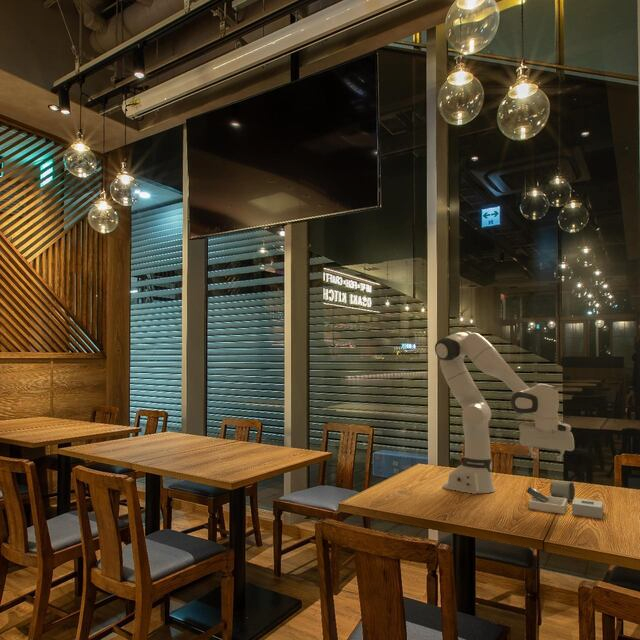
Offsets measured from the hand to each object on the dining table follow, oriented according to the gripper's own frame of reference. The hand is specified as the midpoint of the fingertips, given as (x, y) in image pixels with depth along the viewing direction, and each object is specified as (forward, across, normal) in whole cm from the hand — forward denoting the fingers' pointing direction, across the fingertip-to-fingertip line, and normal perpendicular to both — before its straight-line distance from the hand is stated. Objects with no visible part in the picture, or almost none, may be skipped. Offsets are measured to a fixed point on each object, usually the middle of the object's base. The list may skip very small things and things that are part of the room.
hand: (546, 459), depth 207 cm
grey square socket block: (+18, +15, 0) cm, 24 cm away
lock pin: (+17, 0, 0) cm, 17 cm away
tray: (+19, +1, 0) cm, 19 cm away
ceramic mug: (+19, +4, +16) cm, 25 cm away
